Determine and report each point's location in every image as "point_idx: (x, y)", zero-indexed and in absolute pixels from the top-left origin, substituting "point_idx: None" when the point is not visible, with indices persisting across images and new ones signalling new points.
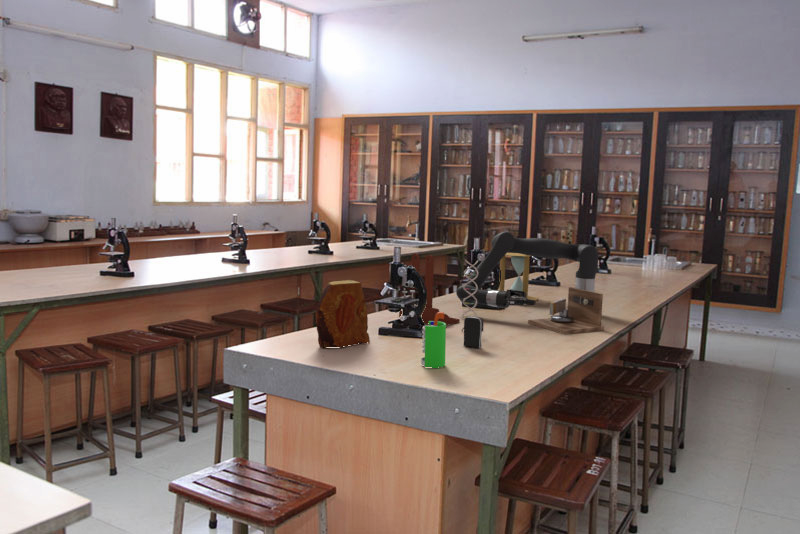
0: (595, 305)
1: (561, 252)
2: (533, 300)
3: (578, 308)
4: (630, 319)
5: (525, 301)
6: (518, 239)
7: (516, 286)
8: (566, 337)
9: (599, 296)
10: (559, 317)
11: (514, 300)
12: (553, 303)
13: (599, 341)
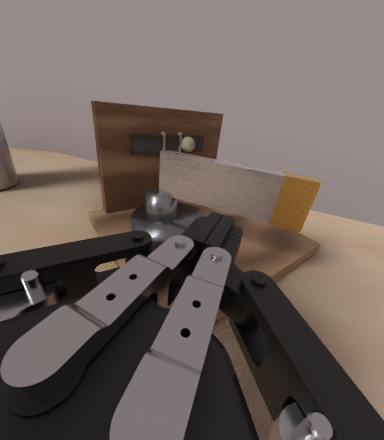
0: (207, 148)
1: None
2: (234, 218)
3: (152, 171)
4: (94, 163)
5: (232, 266)
6: None
7: None
8: (357, 254)
9: (220, 121)
10: (180, 223)
11: (350, 393)
12: (317, 179)
13: (332, 216)
